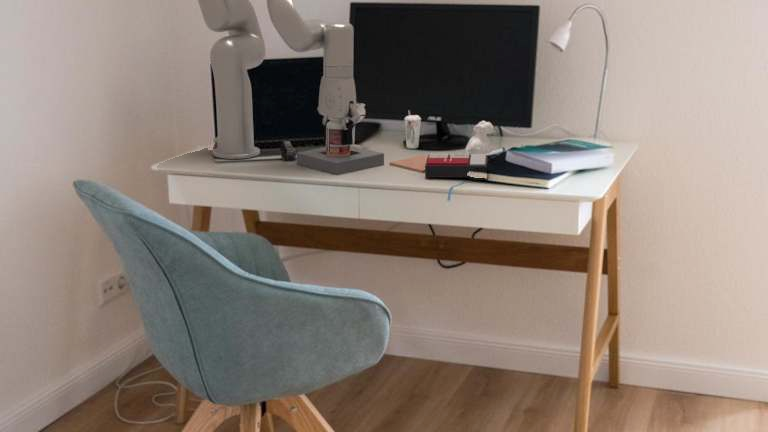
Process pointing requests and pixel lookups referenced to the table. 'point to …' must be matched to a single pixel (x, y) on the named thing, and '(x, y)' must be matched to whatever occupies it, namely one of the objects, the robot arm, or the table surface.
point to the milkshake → (412, 130)
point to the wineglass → (362, 113)
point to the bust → (480, 139)
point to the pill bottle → (335, 139)
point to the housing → (340, 160)
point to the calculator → (454, 164)
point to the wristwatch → (287, 151)
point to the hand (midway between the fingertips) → (338, 141)
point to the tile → (412, 163)
